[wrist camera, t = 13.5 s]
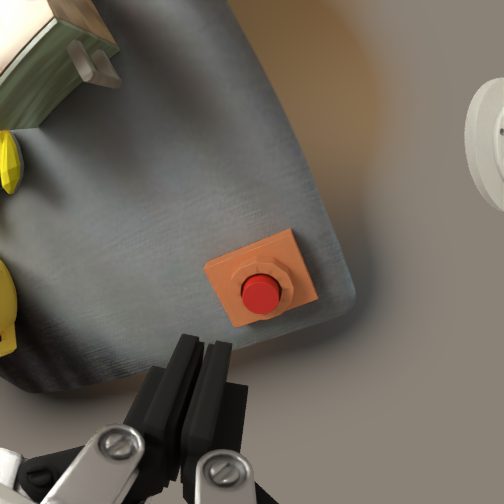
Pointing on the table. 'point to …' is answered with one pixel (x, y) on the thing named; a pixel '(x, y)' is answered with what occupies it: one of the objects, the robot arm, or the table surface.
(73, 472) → the robot arm
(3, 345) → the teapot
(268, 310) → the button
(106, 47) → the door
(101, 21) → the cupboard
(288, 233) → the button block
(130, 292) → the table surface
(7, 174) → the black and yellow shoe
